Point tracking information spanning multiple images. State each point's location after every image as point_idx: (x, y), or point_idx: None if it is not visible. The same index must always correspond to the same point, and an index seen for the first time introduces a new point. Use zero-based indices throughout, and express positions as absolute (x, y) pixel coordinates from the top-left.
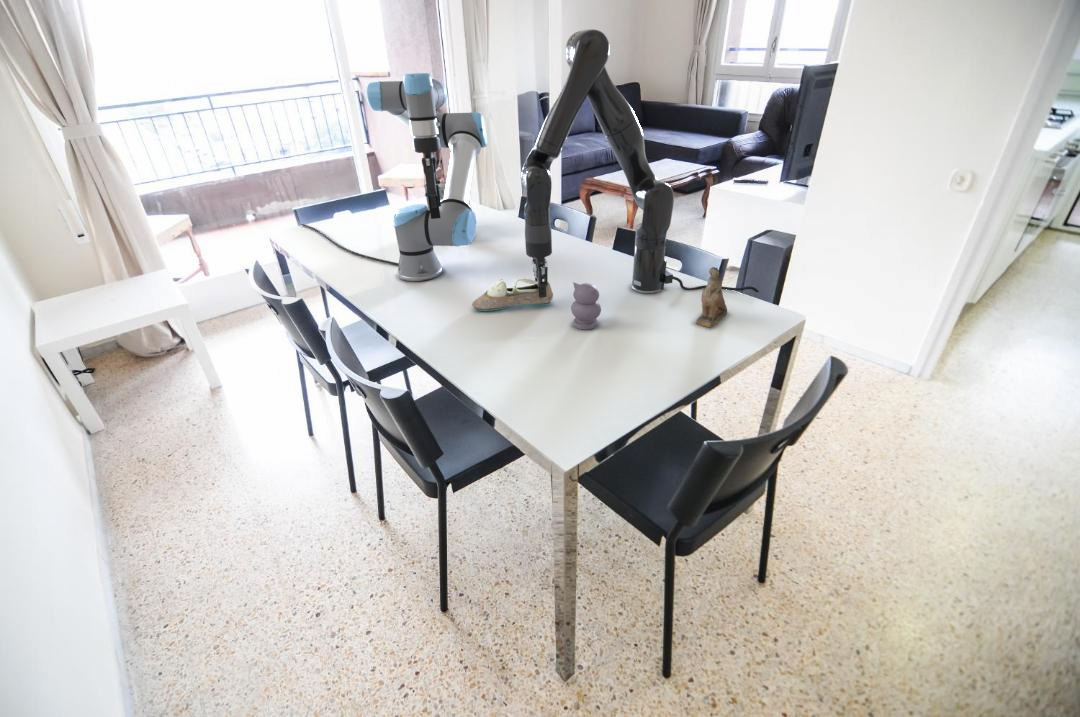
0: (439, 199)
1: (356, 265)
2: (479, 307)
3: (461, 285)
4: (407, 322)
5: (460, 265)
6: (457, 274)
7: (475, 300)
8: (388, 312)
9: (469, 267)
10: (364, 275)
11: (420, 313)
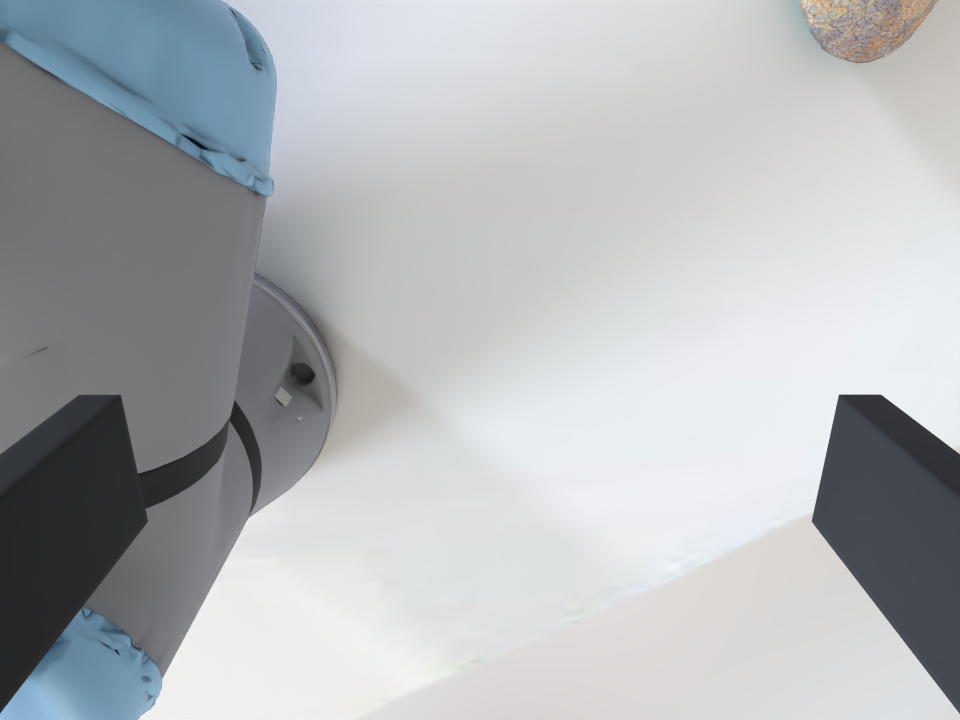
0: (53, 467)
1: None
2: (929, 12)
3: (443, 127)
4: None
5: None
6: None
7: (857, 34)
8: (699, 502)
9: None
10: (202, 645)
11: (770, 359)
